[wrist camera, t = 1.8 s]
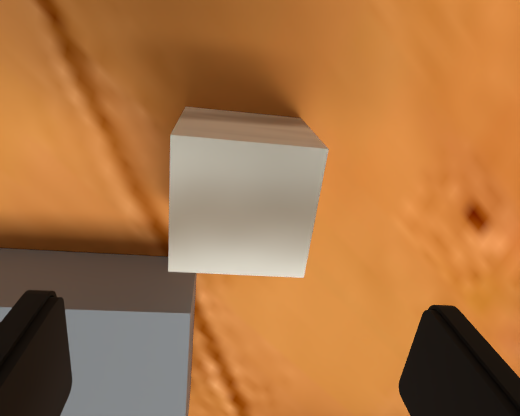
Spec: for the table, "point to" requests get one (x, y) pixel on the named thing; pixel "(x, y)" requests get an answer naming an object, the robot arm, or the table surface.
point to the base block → (114, 327)
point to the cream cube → (242, 193)
